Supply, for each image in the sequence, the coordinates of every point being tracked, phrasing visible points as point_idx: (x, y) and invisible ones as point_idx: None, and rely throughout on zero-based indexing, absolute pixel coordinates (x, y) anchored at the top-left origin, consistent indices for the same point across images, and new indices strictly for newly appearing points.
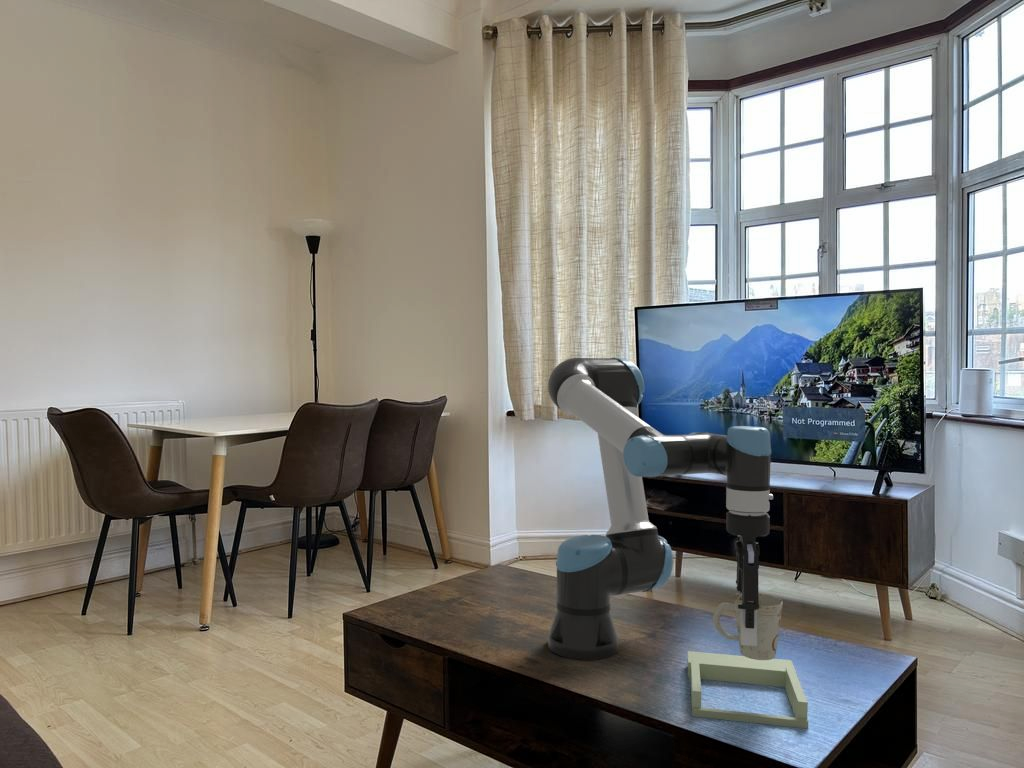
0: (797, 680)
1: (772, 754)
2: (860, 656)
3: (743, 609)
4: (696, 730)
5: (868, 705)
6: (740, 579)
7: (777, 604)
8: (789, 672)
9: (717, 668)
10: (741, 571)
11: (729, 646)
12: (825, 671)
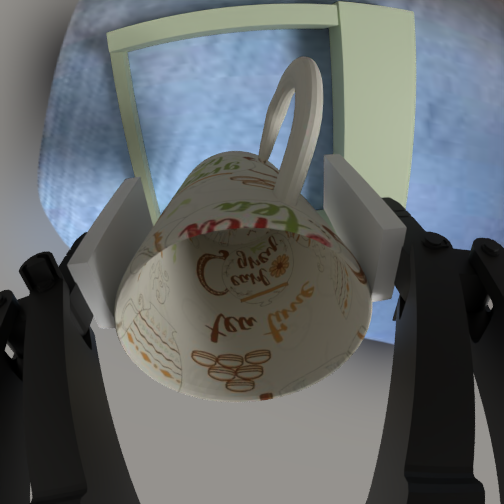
0: None
1: (46, 193)
2: None
3: (74, 270)
4: (61, 63)
5: None
6: (413, 317)
7: (286, 369)
8: None
9: (341, 72)
10: (409, 393)
11: (498, 124)
12: None
